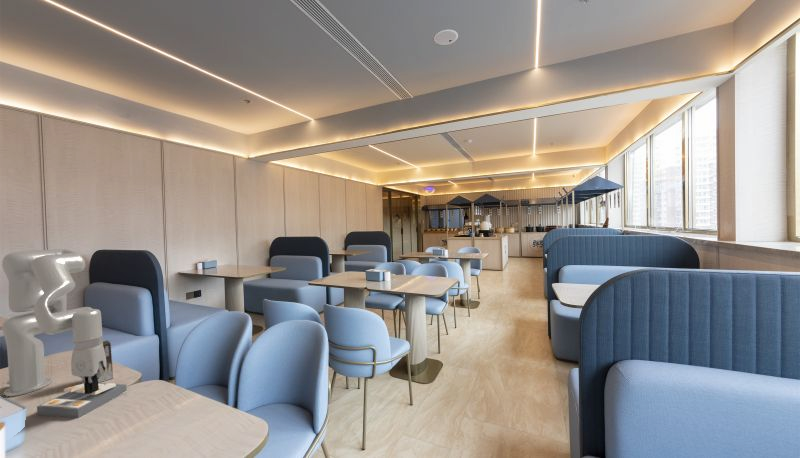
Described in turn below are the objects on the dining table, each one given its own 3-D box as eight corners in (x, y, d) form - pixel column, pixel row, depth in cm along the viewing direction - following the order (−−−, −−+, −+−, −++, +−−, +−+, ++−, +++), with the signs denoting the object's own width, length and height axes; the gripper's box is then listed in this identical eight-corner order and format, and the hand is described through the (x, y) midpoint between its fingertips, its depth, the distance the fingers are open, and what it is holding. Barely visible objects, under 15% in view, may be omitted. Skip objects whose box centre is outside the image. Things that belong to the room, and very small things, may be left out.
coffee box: (110, 374, 136) (108, 339, 135) (113, 378, 132) (111, 342, 131) (81, 383, 128) (79, 346, 128) (83, 388, 124) (81, 350, 124)
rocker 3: (87, 394, 111) (87, 391, 111) (108, 385, 118) (108, 382, 118) (95, 394, 111) (95, 391, 111) (115, 386, 118) (115, 383, 118)
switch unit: (37, 414, 107) (36, 404, 107) (89, 389, 123) (89, 380, 123) (78, 417, 104) (78, 407, 104) (126, 391, 120) (126, 382, 120)
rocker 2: (75, 392, 112) (76, 389, 112) (96, 386, 119) (97, 383, 119) (83, 392, 112) (83, 389, 112) (104, 386, 119) (104, 383, 119)
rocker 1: (63, 391, 113) (64, 388, 113) (85, 385, 120) (85, 382, 120) (71, 392, 113) (71, 388, 113) (92, 386, 119) (93, 383, 120)
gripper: (59, 347, 108) (62, 396, 108) (93, 347, 106) (96, 398, 106) (84, 339, 116) (87, 385, 116) (116, 339, 113) (119, 387, 113)
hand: (91, 391), depth 111 cm, fingers closed
